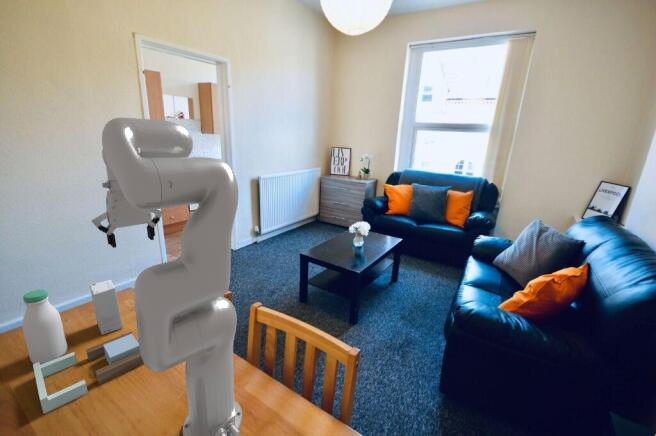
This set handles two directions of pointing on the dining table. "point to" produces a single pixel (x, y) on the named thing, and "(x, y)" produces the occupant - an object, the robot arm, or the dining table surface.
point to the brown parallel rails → (114, 368)
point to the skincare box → (106, 306)
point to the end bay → (63, 395)
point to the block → (121, 348)
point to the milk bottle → (42, 328)
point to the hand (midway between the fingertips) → (133, 242)
